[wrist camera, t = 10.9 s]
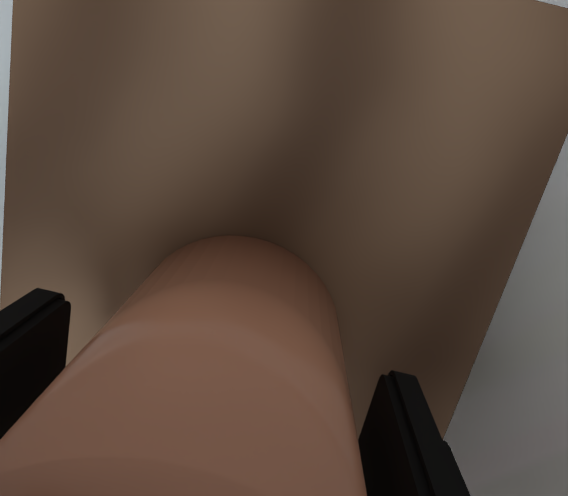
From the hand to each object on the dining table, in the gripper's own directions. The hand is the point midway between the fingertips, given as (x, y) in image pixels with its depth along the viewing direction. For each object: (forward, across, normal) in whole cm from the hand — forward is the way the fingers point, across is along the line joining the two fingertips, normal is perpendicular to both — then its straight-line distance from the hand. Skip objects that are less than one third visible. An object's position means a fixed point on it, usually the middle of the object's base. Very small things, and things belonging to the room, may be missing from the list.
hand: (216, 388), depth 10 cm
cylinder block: (+3, 0, 0) cm, 3 cm away
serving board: (+4, 0, 0) cm, 4 cm away
